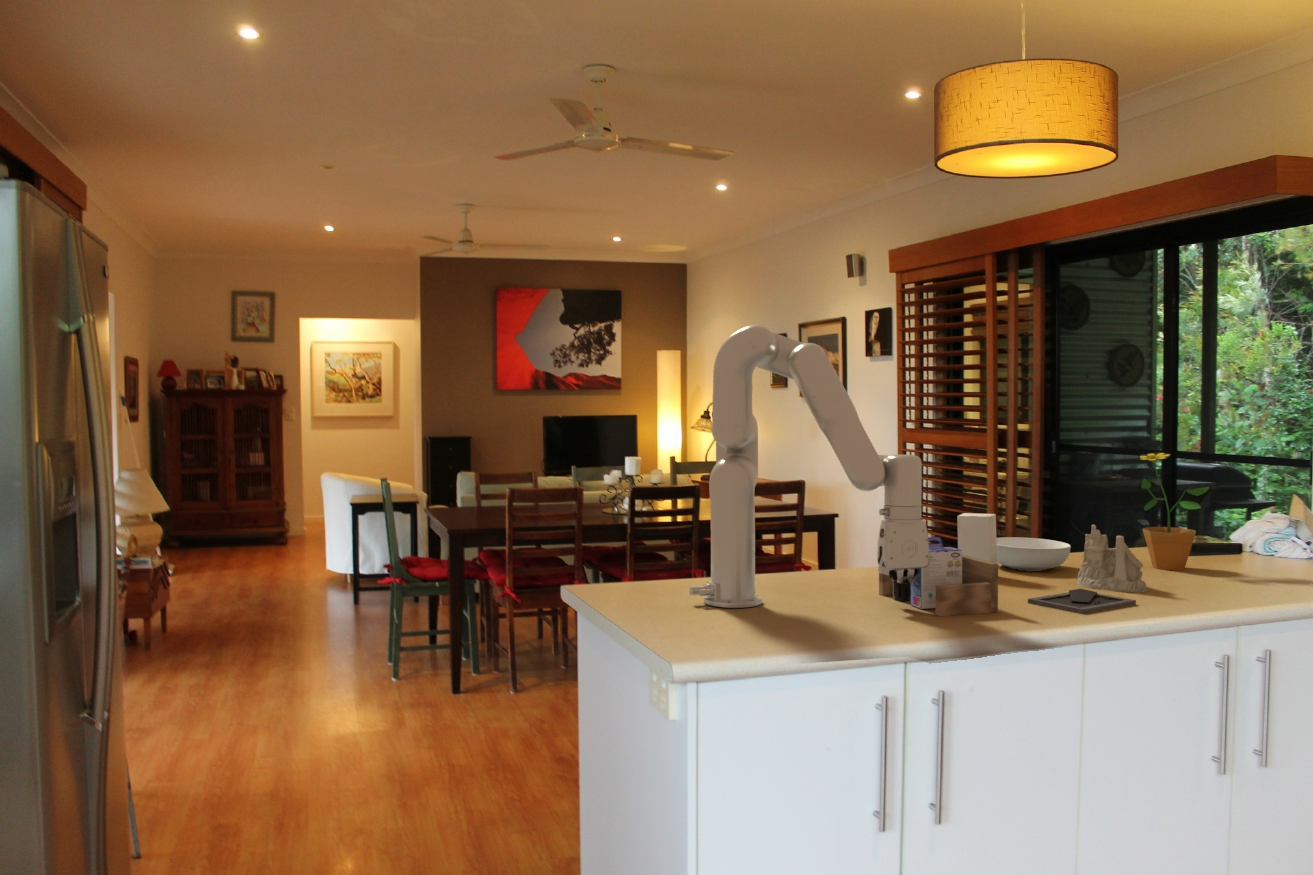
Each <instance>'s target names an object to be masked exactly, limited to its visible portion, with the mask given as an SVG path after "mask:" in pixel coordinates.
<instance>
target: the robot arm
mask: <svg viewBox="0 0 1313 875" xmlns="http://www.w3.org/2000/svg"><path fill="white" fill-rule="evenodd" d="M756 368H757V369H758V368H759V369H761V370H765V371H767V372H770V373H773V374H776V375H779V376H782V377H784V378H788V379H791V380H794V382H795V384H796V386H797V387H798V390H799V392H800V394H801V395H802V398H803V399H804V401H805V403H806V404H807V406H808V409H809V410H810V412H811V414H812V416H813V418H814V420H815V421H816V424H817V425H818V427H819V429H820V430H821V432H822V433H823V435H824V436H825V437H826V439H827V441H828V442H829V444H830V446H831V448H832V450H833V451H834V454H835V455H836V457H837V459H838V461H839V462H840V465H841V467H842V469H843V470H844V473H845V474H846V476H847V478H848V480H849V482H850V484H851V485H852V486H853V487H854V488H856V489H857V490H858V491H859V490H860V491H863V492H871V491H875V490H876V489H878V488H880V487H884V505H883V508H880V509H879V511H878V514H879V515H880V516H883V519H882V520H881V522H880V526H879V529H878V530H879V531H878V538H877V539H878V540H877V551H876V552H877V554H876V558H877V564H878V569H877V572H878V574H879V573H881V574H885V575H888V576H889V577H890V578H891V579H892V581H894V597H895V600H894V601H896V600H897V601H896V602H900V603H909V602H910V600H909V597H910V583H912V582H913V578H914V577H915V576H916V575H917V574H918V570H917V568H925V567H927V566H928V565H929V544H930V543H929V542H930V541H929V542H928V537H929V535H928V529H927V524H926V520H924V519H922V485H923V484H922V483H923V481H922V475H923V474H922V471H923V468H922V467H923V465H922V464H923V462H922V459H921V457H919V456H917V455H915V454H890V455H884V454H878V452H877V451H876V448H875V447H874V445H873V443H872V442H871V439H870V437H869V435H868V433H867V432H866V430H865V428H864V426H863V424H862V421H861V419H860V418H859V414H858V413H857V412H858V411H857V409H856V407H855V404H854V403H853V400H852V399H851V397H850V395H849V393H848V392H847V390H846V388H845V386H844V384H843V382H842V380H841V379H840V377H839V375H838V373H837V371H836V369H835V368H834V366H833V364H832V362H831V360H830V358H829V357H828V355H827V353H826V351H825V349H823V347H821V346H820V345H818V344H816V343H814V342H806V343H805V342H802V341H799V340H796V339H792V338H790V337H786V336H784V335H781V334H779V333H776V332H773V331H771V330H770V329H769V328H768V327H765V326H764V325H760V324H752V325H751V324H750V325H747V326H745V327H742V328H740V329H738V330H737V331H735V332H733V333H732V334H730V336H728V337H727V338H726V340H724V342H723V343H722V344H721V346H720V348H719V350H718V352H717V354H716V356H715V360H714V365H713V375H712V376H713V378H712V379H713V380H712V416H711V417H712V418H711V419H712V420H711V433H712V437H713V440H714V442H715V464H714V466H713V468H712V469H711V471H710V476H709V482H708V483H709V484H708V486H709V487H708V488H709V504H710V580H706V584H704V583H703V585H700V586H699V585H691V586H689V588H688V592H689V595H690V596H699V597H702V596H703V603H704V604H706V605H708V606H712V607H718V608H727V609H728V608H730V609H731V608H732V609H740V608H741V609H742V608H752V607H756V606H759V605H761V604H762V603H763V597H762V596H760V595H758V594H756V512H755V510H756V509H755V508H756V507H755V506H756V505H755V488H756V486H757V483H758V479H759V429H758V421H757V419H756V416H755V415H754V413H753V374H754V370H755V369H756ZM887 567H888V568H889V569H888V568H887Z"/></svg>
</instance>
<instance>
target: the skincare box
mask: <svg viewBox="0 0 1313 875" xmlns="http://www.w3.org/2000/svg"><path fill="white" fill-rule="evenodd" d="M956 520H957V549H960V550H962V555H964V556H968V557H972V558H976V559H981V560H985V561H989V562H993V563H997V545H996V538H997V515H996V513H975V512H974V513H973V512H972V513H971V512H967V513H966V512H964V513H961V514H959V515H957V519H956ZM997 564H998V563H997Z"/></svg>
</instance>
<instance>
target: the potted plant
mask: <svg viewBox="0 0 1313 875" xmlns="http://www.w3.org/2000/svg"><path fill="white" fill-rule="evenodd" d="M1170 456H1172V453H1169V452H1168V453H1167V452H1161V451H1156V452H1155V451H1154V452H1148V453H1142V454H1141V453H1140V454H1139V455H1138V456H1137V457H1136V458H1135V459H1136V460H1142V461H1150V462H1152V463H1154V465H1153V466H1154V469H1155V474H1156V477H1157V480H1158V483H1159V485H1158V484H1156V483H1154V482H1153V481H1152V480H1149V479H1147V478H1145V477H1144V478H1143V479H1142V480H1141V481H1140V483H1138V486H1137V487H1136V488H1135V491H1142V490H1147V491H1148V492H1149V493H1150V495H1151V496H1152V498H1153V499H1150V500H1148V501H1147V502H1144V503H1142V504H1140V505H1138V506H1137V508H1139V509H1140V510H1142V511H1145V512H1147V511H1149V510H1150V509H1152V508H1154V507H1157V506H1158V505H1161V504H1163V503H1164V501H1165V505H1166V506H1165V507H1166V511H1167V526H1147V527H1143V528H1142V532H1143V535H1144V539H1145V543H1146V547H1147V551H1148V555H1149V558H1150V560H1151V564H1152V568H1154V567H1155V568H1154V569H1157V570H1163V569H1165V570H1164V571H1183V570H1185V568H1186V565H1187V562H1188V559H1189V556H1190V552H1191V549H1192V546H1193V543H1194V541H1195V540H1194V539H1195V536H1196V533H1197V531H1196V530H1195V529H1190V528H1183V527H1171V515H1170V514H1171V512H1172V511H1173V510H1174V509H1175V507H1177V505H1178V511H1179V512H1178V513H1179V514H1181V513H1184V512H1189V511H1194V510H1199V509H1202V503H1203V501H1204V499H1205V498H1206V496H1207V494H1208V492H1209V490H1210V488H1211V486H1206V487H1195V488H1188V489H1185V490H1183V493H1182V495H1181V496H1180V498H1179V499H1178V501H1177V502H1176V503H1175V504H1174V505H1173V507H1171V508H1169V503H1168V499H1167V495H1166V493H1165V490H1164V487H1163V485H1162V484H1163V483H1162V482H1161V479H1160V477H1159V473H1158V469H1157V465H1156V462H1158V461H1159V460H1165V459H1168V458H1169V457H1170ZM1158 487H1160V488H1161V491H1162V494H1163V498H1162V497H1161V498H1160V497H1156V496H1155V495H1154V493H1152V491H1151V490H1150V489H1154V488H1158ZM1185 493H1187V494H1189V495H1190V496H1191V497H1193V498H1188V499H1183V500H1181V499H1182V498H1183V497H1184V495H1185Z"/></svg>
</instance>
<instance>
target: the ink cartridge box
mask: <svg viewBox="0 0 1313 875" xmlns="http://www.w3.org/2000/svg"><path fill="white" fill-rule="evenodd" d="M931 541H935V542H938V543H929V565H928V566H927V567H925V568H917V570H918V574H917V575H916V576H915V577H914V578H913V582H912V583H911V600H910V605H911V606H913V607H915V608H917V609H919V610H924V609H925V610H926V609H927V610H928V609H936V585H951V584H962V550H960V549H958V548H956V547H951V546H945V547H944V544H943V542H942V539H941V536H940V537H939V536H938V537H937V536H936V537H935V536H934V537H929V536H928V542H931Z"/></svg>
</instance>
